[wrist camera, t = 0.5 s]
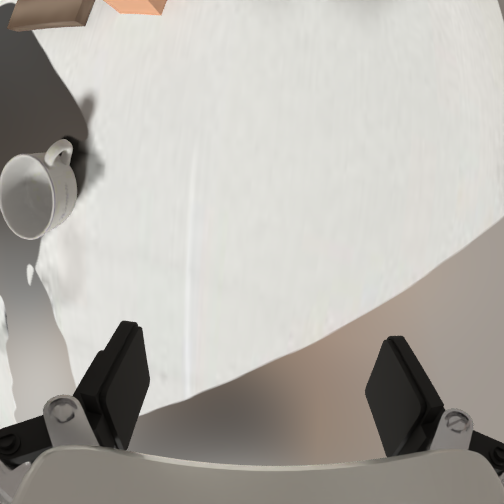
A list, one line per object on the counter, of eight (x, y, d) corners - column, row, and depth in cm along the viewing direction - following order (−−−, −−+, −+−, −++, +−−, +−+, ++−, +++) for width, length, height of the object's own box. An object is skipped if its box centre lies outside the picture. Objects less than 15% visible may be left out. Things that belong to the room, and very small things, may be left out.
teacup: (54, 235, 40) (23, 255, 33) (19, 179, 37) (-15, 190, 30) (116, 180, 38) (87, 192, 30) (76, 117, 34) (42, 117, 27)
